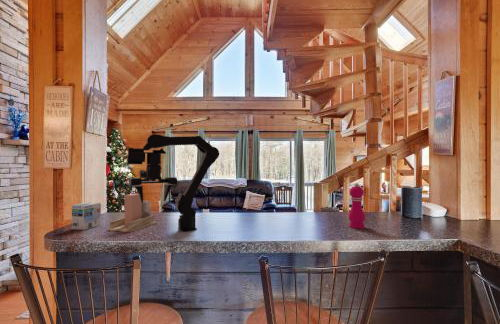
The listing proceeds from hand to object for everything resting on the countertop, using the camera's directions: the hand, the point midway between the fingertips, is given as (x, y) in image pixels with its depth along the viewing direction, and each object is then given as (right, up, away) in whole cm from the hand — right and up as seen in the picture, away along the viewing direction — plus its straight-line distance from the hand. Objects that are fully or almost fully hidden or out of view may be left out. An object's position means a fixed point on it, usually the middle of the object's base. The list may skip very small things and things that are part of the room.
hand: (153, 201), depth 118 cm
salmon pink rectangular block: (-13, -12, +11) cm, 21 cm away
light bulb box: (-34, -13, +11) cm, 39 cm away
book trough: (-13, -13, +12) cm, 22 cm away
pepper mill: (+89, -13, +10) cm, 91 cm away
